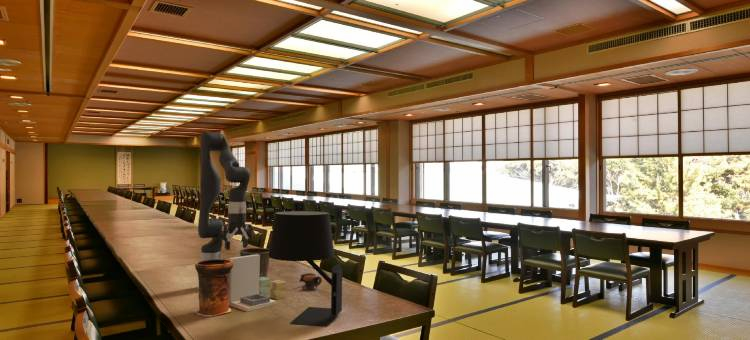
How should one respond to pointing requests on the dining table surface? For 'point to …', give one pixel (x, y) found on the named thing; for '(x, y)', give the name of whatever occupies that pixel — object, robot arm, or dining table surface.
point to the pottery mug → (310, 281)
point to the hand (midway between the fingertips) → (236, 248)
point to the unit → (246, 284)
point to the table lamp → (308, 256)
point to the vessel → (213, 286)
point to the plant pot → (263, 258)
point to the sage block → (264, 285)
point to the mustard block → (278, 289)
